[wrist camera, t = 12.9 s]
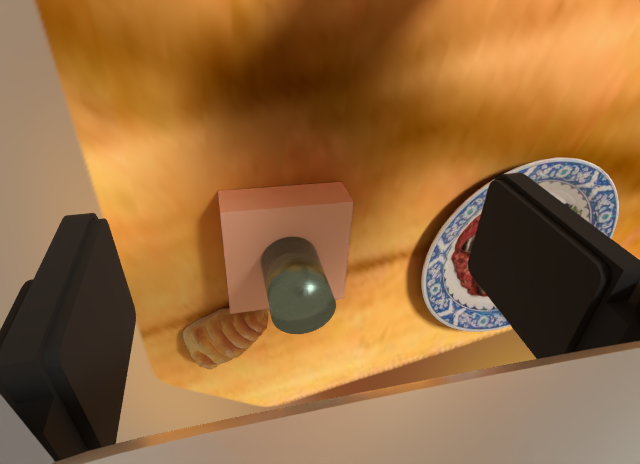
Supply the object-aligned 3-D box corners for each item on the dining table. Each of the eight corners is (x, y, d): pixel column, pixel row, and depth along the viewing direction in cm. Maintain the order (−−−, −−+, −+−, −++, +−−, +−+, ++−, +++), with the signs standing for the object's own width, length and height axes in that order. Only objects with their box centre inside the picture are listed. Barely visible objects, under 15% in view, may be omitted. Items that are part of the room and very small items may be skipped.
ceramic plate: (420, 342, 61) (429, 359, 58) (406, 189, 45) (418, 204, 43) (586, 286, 63) (601, 300, 60) (625, 121, 47) (648, 131, 45)
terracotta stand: (341, 181, 43) (353, 201, 39) (334, 275, 49) (343, 298, 46) (217, 190, 40) (220, 212, 37) (227, 287, 47) (230, 313, 44)
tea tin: (318, 233, 41) (337, 281, 35) (315, 278, 44) (333, 329, 38) (259, 239, 39) (270, 289, 34) (261, 285, 42) (271, 338, 37)
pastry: (247, 286, 48) (251, 311, 45) (278, 320, 52) (283, 344, 49) (177, 327, 49) (176, 353, 46) (212, 356, 53) (213, 382, 50)
